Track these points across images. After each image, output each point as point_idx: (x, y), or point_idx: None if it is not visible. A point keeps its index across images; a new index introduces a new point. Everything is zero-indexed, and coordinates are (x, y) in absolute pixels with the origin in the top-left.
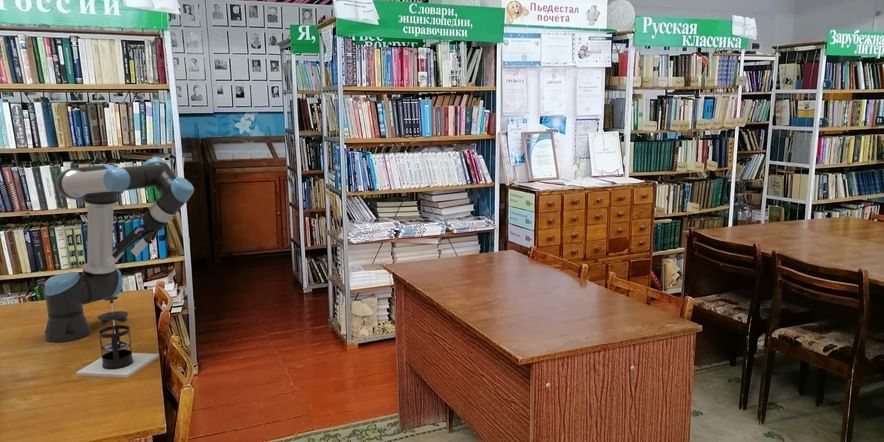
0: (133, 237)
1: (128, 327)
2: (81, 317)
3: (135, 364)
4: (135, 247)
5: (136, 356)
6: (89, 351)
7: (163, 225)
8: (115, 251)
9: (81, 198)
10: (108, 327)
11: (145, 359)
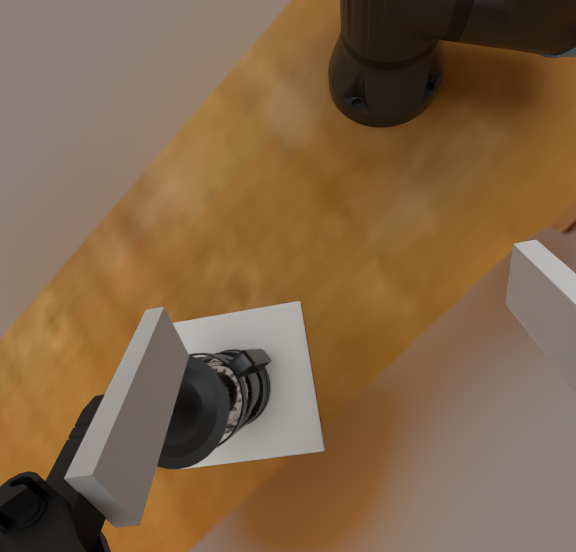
0: None
1: (233, 430)
2: (403, 78)
3: (242, 438)
4: (552, 296)
5: (290, 397)
6: (304, 226)
7: None
8: (58, 465)
9: None
10: (216, 358)
11: (278, 440)
